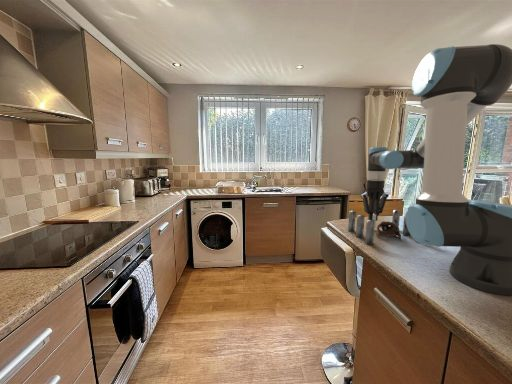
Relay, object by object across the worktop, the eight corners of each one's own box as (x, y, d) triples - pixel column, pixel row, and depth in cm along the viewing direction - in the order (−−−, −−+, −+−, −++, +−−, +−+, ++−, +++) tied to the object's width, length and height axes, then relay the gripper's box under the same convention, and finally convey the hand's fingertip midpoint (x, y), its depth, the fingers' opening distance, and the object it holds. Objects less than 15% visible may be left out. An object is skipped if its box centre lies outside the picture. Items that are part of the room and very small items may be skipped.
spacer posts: (426, 243, 92) (428, 220, 90) (367, 245, 91) (369, 221, 89) (395, 228, 110) (397, 209, 109) (346, 230, 110) (347, 210, 108)
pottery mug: (407, 242, 95) (402, 227, 92) (385, 250, 97) (379, 236, 94) (392, 227, 106) (388, 213, 103) (373, 234, 108) (368, 221, 105)
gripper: (384, 178, 110) (380, 224, 113) (358, 179, 109) (355, 225, 113) (394, 180, 102) (389, 229, 106) (366, 180, 102) (363, 229, 105)
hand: (372, 227), depth 109 cm, fingers closed
